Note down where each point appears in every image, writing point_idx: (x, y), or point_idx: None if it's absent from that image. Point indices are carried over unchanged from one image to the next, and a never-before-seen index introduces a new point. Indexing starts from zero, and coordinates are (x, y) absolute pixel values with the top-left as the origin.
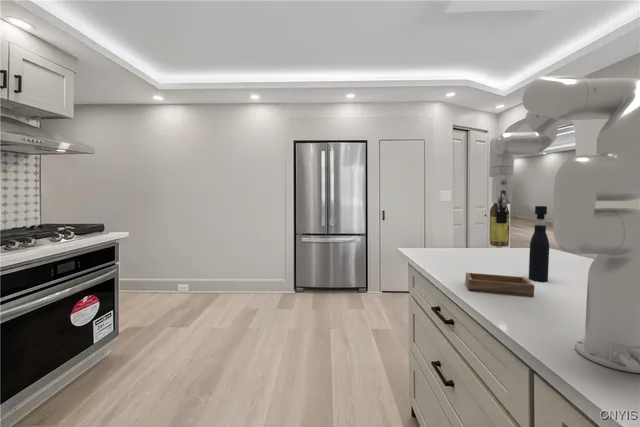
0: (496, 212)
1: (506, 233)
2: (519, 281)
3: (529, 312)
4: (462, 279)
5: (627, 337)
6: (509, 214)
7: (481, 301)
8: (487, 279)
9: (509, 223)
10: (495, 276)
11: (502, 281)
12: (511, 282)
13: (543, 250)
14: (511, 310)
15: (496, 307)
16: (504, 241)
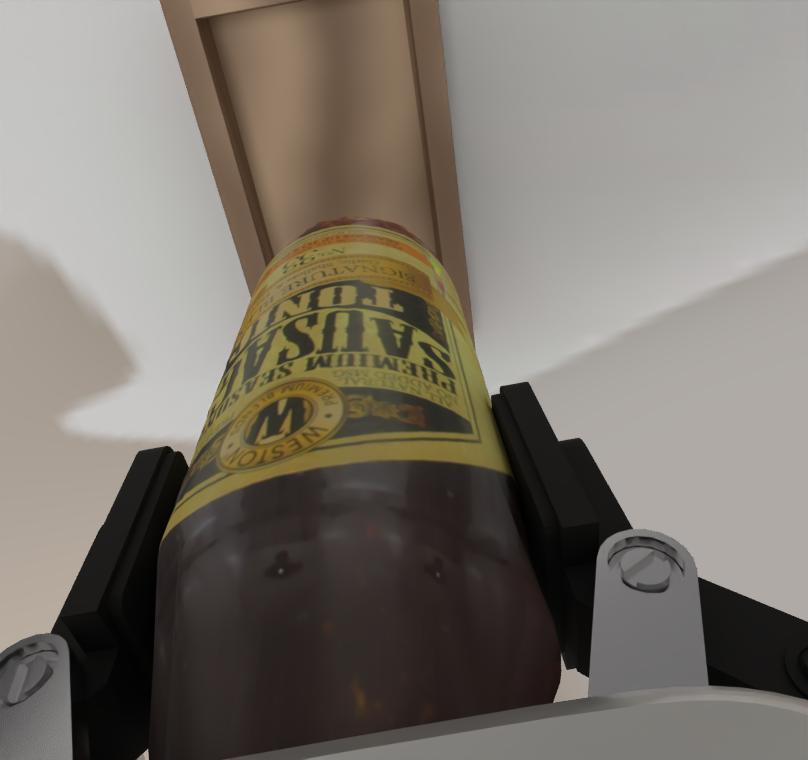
0: (571, 655)
1: (447, 299)
2: (208, 39)
3: (753, 17)
4: (216, 385)
5: None
6: (375, 439)
7: (633, 258)
8: (271, 260)
9: (363, 331)
10: (253, 219)
11: (245, 163)
12: (228, 99)
13: None
14: (741, 114)
15: (711, 187)
16: (448, 277)
